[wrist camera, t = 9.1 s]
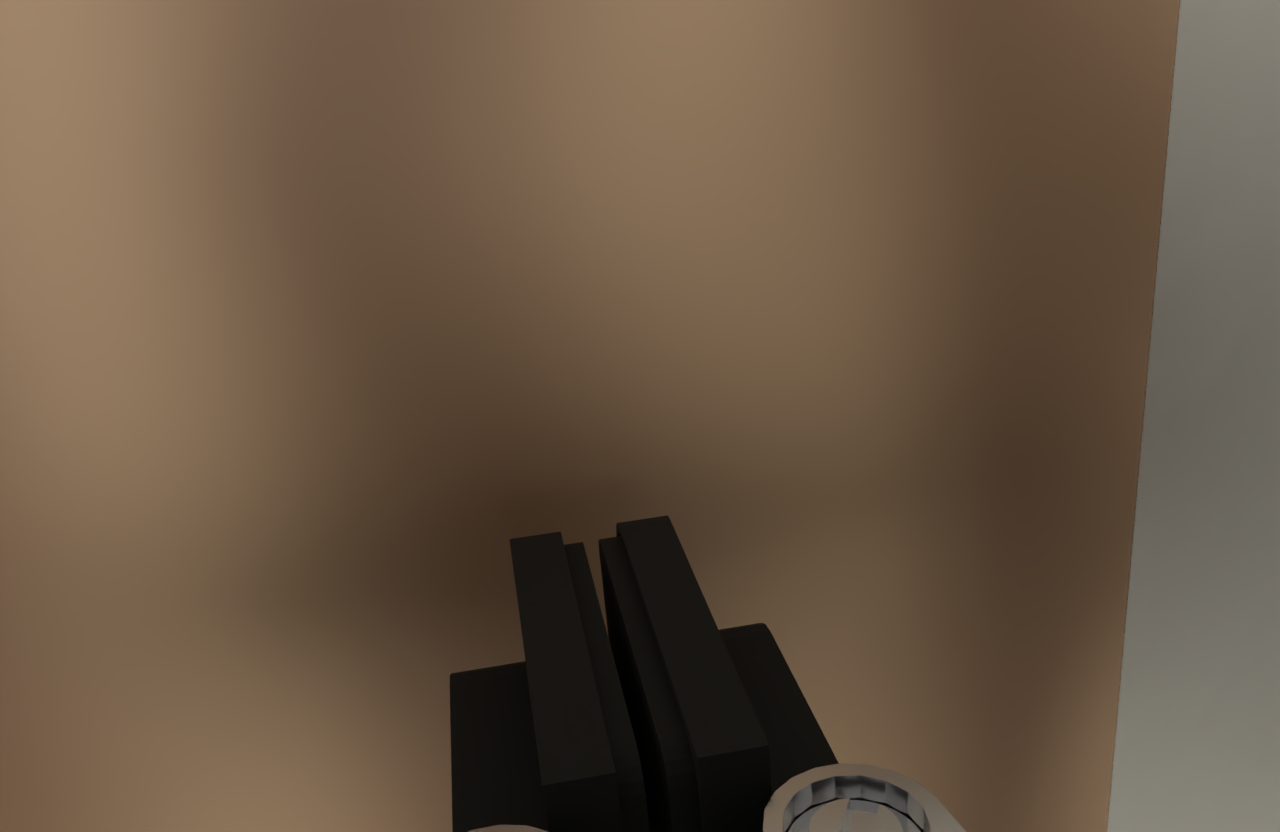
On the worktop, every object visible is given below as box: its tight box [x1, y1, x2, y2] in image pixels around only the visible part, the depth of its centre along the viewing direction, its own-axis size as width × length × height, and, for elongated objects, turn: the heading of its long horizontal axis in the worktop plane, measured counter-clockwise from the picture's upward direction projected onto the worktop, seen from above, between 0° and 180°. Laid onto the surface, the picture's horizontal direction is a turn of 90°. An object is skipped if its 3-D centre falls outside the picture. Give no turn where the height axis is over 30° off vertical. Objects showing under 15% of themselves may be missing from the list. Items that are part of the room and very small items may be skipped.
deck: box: [0, 0, 1180, 832], centre depth 15 cm, size 16×14×4 cm
